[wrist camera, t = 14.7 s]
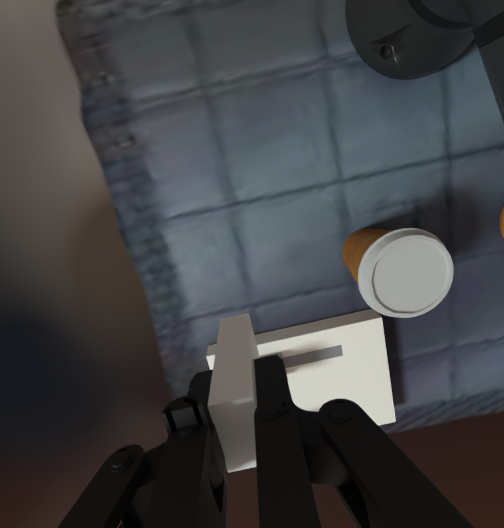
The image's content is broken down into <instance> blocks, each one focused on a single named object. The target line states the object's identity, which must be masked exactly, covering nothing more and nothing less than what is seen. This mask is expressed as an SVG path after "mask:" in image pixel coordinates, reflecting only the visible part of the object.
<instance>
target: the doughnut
mask: <svg viewBox="0 0 504 528" xmlns="http://www.w3.org/2000/svg"><path fill="white" fill-rule="evenodd" d="M499 229H500V232H501V235H502V237H503V239H504V205H503V207H502V210H501V213H500V216H499Z"/></svg>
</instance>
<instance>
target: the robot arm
mask: <svg viewBox="0 0 504 528" xmlns="http://www.w3.org/2000/svg"><path fill="white" fill-rule="evenodd" d="M346 22H347V28H348V32H349V35H350V38H351V41H352V43H353V45H354V47H355V49H356V51H357V53H358V54H359V55H360V57H361V58H362V59H363V61H364V62H365V63H366V64H367V65H368V66H370V67H371V68H372V69H373V70H375V71H376V72H378V73H380V74H382V75H384V76H387V77H390V78H394V79H402V80H409V79H416V78H420V77H424V76H426V75H429V74H431V73H433V72H435V71H437V70H439V69H440V68H442V67H444V66H446V65H447V64H449V63H450V62H452V61H453V60H454V59H456V58H457V57H458V56H459V55H460V54H462V53H463V52H464V51H465V50H466V49H467V48H468V46H469V45H470V44H471V43H472V42H473V40H474V39H476V42H477V45H478V49H479V52H480V55H481V58H482V61H483V64H484V67H485V69H486V72H487V75H488V78H489V81H490V84H491V87H492V90H493V93H494V96H495V99H496V102H497V105H498V108H499V111H500V114H501V117H502V120H503V123H504V0H346ZM188 390H189V391H188V393H187V396H183V397H180V398H177V399H175V400H174V401H172V402H170V403H169V404H168V405H167V406H166V407H165V408H164V410H163V412H162V413H161V415H162V417H163V420H164V423H165V426H166V429H167V431H168V434H169V435H168V439H167V441H166V442H165V443H163V444H161V445H159V446H157V447H155V448H153V449H151V450H149V451H147V452H144V449H143V448H142V447H141V446H140V445H135V444H133V445H127V446H125V447H123V448H120V449H118V450H117V451H115V452H114V453H113V454H111V455H110V456H109V457H108V459H107V460H106V461H105V462H104V463H103V465H102V466H101V467H100V469H99V470H98V472H97V473H96V474H95V476H94V477H93V479H92V480H91V481H90V483H89V484H88V486H87V487H86V488H85V490H84V491H83V493H82V494H81V495H80V497H79V498H78V500H77V501H76V502H75V504H74V505H73V506H72V508H71V509H70V511H69V512H68V514H67V515H66V516H65V518H64V519H63V521H62V522H61V523H60V525H59V526H58V527H57V528H117V526H118V525H119V523H120V522H121V524H120V526H119V528H226V517H227V492H228V491H227V490H228V487H227V481H226V478H225V475H224V465H225V464H226V467H227V470H228V472H233V471H238V470H243V469H247V468H252V467H256V468H257V487H258V508H259V525H260V528H321V524H320V520H319V515H318V511H317V506H316V502H315V498H314V493H313V489H312V484H311V483H316V484H324V485H333V487H334V490H335V492H336V493H337V495H338V497H339V499H340V500H341V502H342V503H343V505H344V507H345V509H346V510H347V512H348V514H349V515H350V517H351V519H352V521H353V522H354V524H355V526H356V527H357V528H474V527H473V526H472V525H471V524H470V523H469V522H468V521H467V520H466V519H465V518H464V516H463V515H462V514H461V513H460V512H459V511H458V510H457V509H456V508H455V507H454V506H453V505H452V504H451V503H450V501H448V500H447V498H446V497H445V496H444V495H443V494H442V493H441V492H440V491H439V490H438V489H437V488H436V487H435V486H434V485H433V483H431V482H430V480H429V479H428V478H427V477H426V476H425V475H424V474H423V473H422V472H421V471H420V470H419V469H418V468H417V466H416V465H415V464H414V463H413V462H412V461H411V460H410V459H409V458H408V457H407V456H406V455H405V454H404V453H403V452H402V451H401V449H400V448H399V447H398V446H397V445H396V444H395V443H394V442H393V441H392V440H391V439H390V438H389V437H388V436H387V435H386V434H385V432H384V431H383V430H382V429H381V428H380V427H379V426H378V425H377V424H376V423H375V422H374V421H373V420H372V419H371V418H370V417H369V415H368V414H367V413H366V412H365V411H364V410H363V409H362V408H361V407H360V406H359V405H358V404H356V403H355V402H354V401H351V400H348V399H333V400H329V401H328V402H326V403H324V404H323V405H322V406H321V408H320V409H319V412H317V411H306V410H303V409H301V408H299V407H297V406H296V405H295V404H294V403H293V400H292V398H291V393H290V389H289V385H288V380H287V376H286V372H285V367H284V363H283V360H282V359H281V358H280V357H279V356H278V355H277V354H276V355H271V356H267V357H262V358H260V356H259V352H258V348H257V344H256V340H255V336H254V332H253V328H252V324H251V320H250V316H249V313H246V314H241V315H237V316H232V317H228V318H223V319H220V325H219V332H218V339H217V346H216V352H215V359H214V366H213V369H212V370H208V371H203V372H199V373H197V374H196V375H195V376H194V377H193V379H192V380H191V381H190V385H189V389H188Z"/></svg>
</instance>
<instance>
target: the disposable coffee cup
mask: <svg viewBox="0 0 504 528" xmlns="http://www.w3.org/2000/svg"><path fill="white" fill-rule="evenodd" d="M342 257H343V261H344V263H345V265H346V266H347V268H348V269H349V271H350V272H351V274H352V275H353V277H354V279H355V280H356V282H357V283H358V285H359V290H360V292H361V294H362V297H363V298H364V300H365V301H366V303H367V304H368V305H369V306H370V307H371V308H372V309H374V310H375V311H377V312H378V313H381V314H383V315H386V316H391V317H400V318H410V317H416V316H419V315H422V314H424V313H426V312H428V311H429V310H431V309H432V308H434V307H436V306H437V305H438V304H439V303H440V302H441V301H442V299H443V298H444V297H445V296H446V294H447V292H448V290H449V288H450V286H451V283H452V280H453V263H452V259H451V256H450V254H449V253H448V251H447V250H446V247H445V246H444V244H443V243H442V242H441V241H440V239H438V238H437V237H436V236H435V235H434V234H432V233H429V232H427V231H425V230H422V229H417V228H401V229H398V230H385V229H371V228H365V229H360V230H358V231H356V232H354V233H353V234H351V235H350V236H349V237H348V238H347V240H346V241H345V243H344V245H343V249H342Z"/></svg>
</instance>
